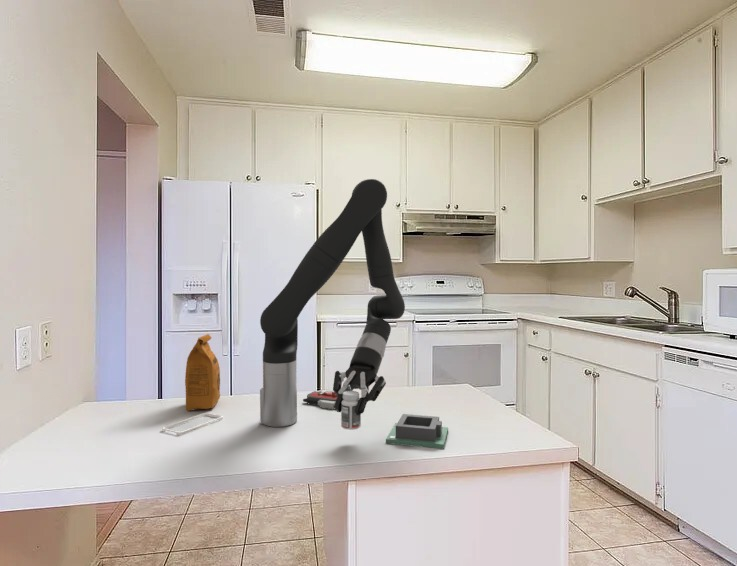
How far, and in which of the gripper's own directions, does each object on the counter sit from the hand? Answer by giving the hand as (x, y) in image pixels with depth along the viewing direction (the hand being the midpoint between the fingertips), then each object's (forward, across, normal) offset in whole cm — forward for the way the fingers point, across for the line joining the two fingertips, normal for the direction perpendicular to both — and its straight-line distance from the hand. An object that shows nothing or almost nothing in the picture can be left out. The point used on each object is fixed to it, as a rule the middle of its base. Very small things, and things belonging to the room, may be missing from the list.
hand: (347, 411), depth 109 cm
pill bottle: (+2, 0, +4) cm, 5 cm away
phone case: (+10, -45, +4) cm, 46 cm away
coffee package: (-1, -56, +14) cm, 58 cm away
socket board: (-3, +14, +14) cm, 20 cm away
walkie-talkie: (-13, -19, +26) cm, 35 cm away
